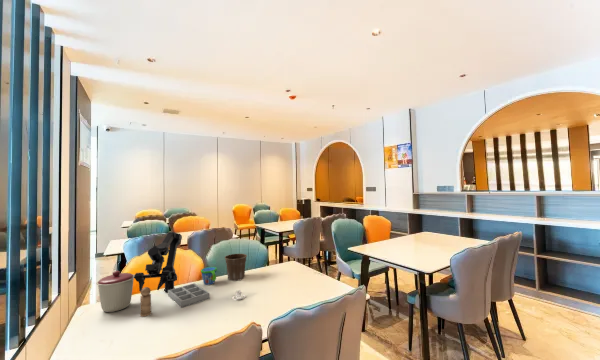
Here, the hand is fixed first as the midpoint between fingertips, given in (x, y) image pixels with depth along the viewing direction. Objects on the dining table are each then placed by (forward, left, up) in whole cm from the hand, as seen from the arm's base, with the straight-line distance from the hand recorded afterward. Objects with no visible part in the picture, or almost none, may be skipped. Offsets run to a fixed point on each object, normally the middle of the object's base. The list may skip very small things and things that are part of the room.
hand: (148, 290), depth 144 cm
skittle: (+3, -2, -11) cm, 12 cm away
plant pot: (-12, +61, -11) cm, 63 cm away
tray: (-3, +22, -11) cm, 25 cm away
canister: (-19, -12, -11) cm, 25 cm away
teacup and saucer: (+21, +41, -12) cm, 47 cm away
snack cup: (-17, +42, -11) cm, 46 cm away
